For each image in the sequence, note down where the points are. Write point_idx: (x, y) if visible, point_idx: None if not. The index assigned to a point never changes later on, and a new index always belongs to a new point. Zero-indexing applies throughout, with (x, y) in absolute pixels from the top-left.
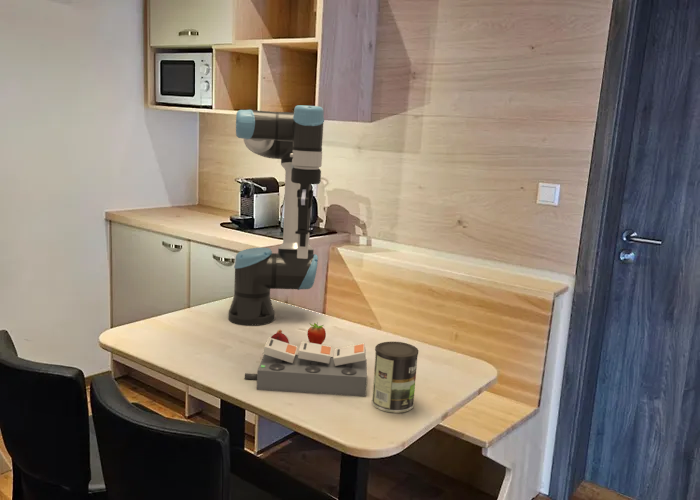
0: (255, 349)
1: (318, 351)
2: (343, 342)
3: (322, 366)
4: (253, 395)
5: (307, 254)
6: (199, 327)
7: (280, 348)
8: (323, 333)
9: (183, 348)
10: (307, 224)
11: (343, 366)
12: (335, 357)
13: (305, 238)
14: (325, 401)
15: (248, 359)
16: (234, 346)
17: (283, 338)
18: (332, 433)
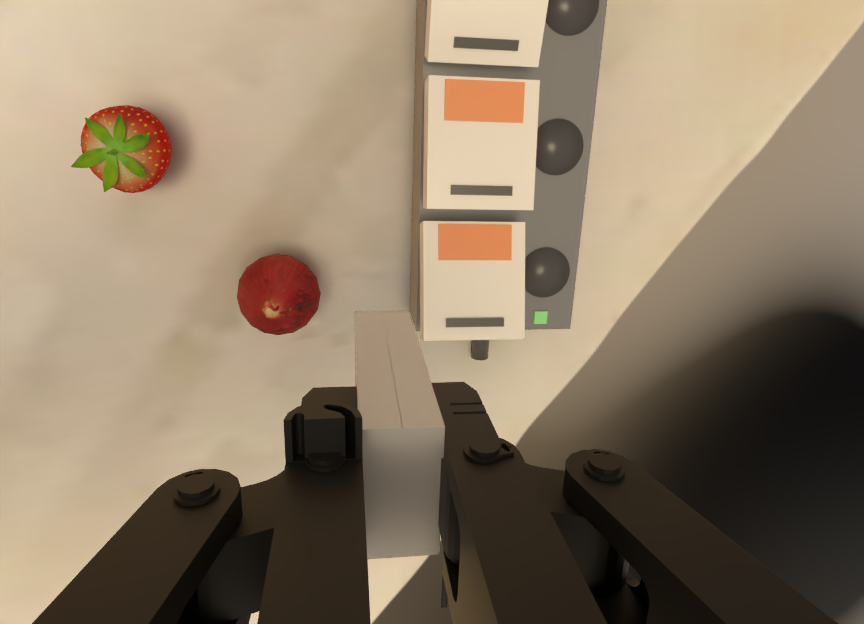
0: (229, 366)
1: (510, 132)
2: (39, 18)
3: None
4: (586, 311)
5: (410, 324)
6: (63, 579)
7: (496, 282)
8: (143, 117)
9: None
10: (710, 543)
11: None
12: (532, 57)
13: (484, 429)
14: (622, 96)
15: (326, 371)
16: (218, 435)
17: (294, 284)
18: (808, 72)
